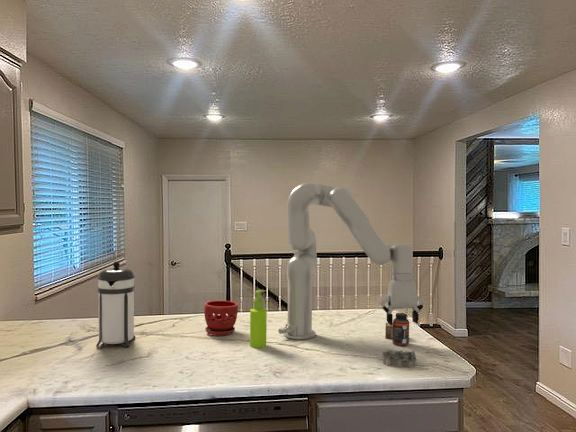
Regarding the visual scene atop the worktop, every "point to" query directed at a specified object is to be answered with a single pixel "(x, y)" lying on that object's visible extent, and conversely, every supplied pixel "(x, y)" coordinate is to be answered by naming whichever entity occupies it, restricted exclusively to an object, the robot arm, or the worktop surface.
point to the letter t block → (389, 331)
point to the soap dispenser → (258, 322)
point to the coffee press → (116, 306)
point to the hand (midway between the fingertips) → (402, 323)
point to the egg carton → (399, 358)
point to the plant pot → (220, 317)
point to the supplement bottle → (401, 330)
